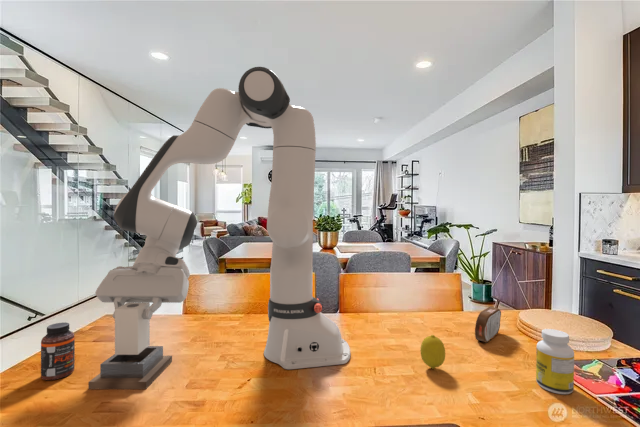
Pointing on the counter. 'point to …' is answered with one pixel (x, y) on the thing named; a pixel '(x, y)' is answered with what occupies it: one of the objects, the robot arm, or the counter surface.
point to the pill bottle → (555, 362)
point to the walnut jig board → (130, 382)
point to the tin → (487, 324)
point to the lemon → (432, 351)
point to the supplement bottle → (57, 352)
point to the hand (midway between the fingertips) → (131, 318)
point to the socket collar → (132, 364)
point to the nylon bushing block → (131, 329)
